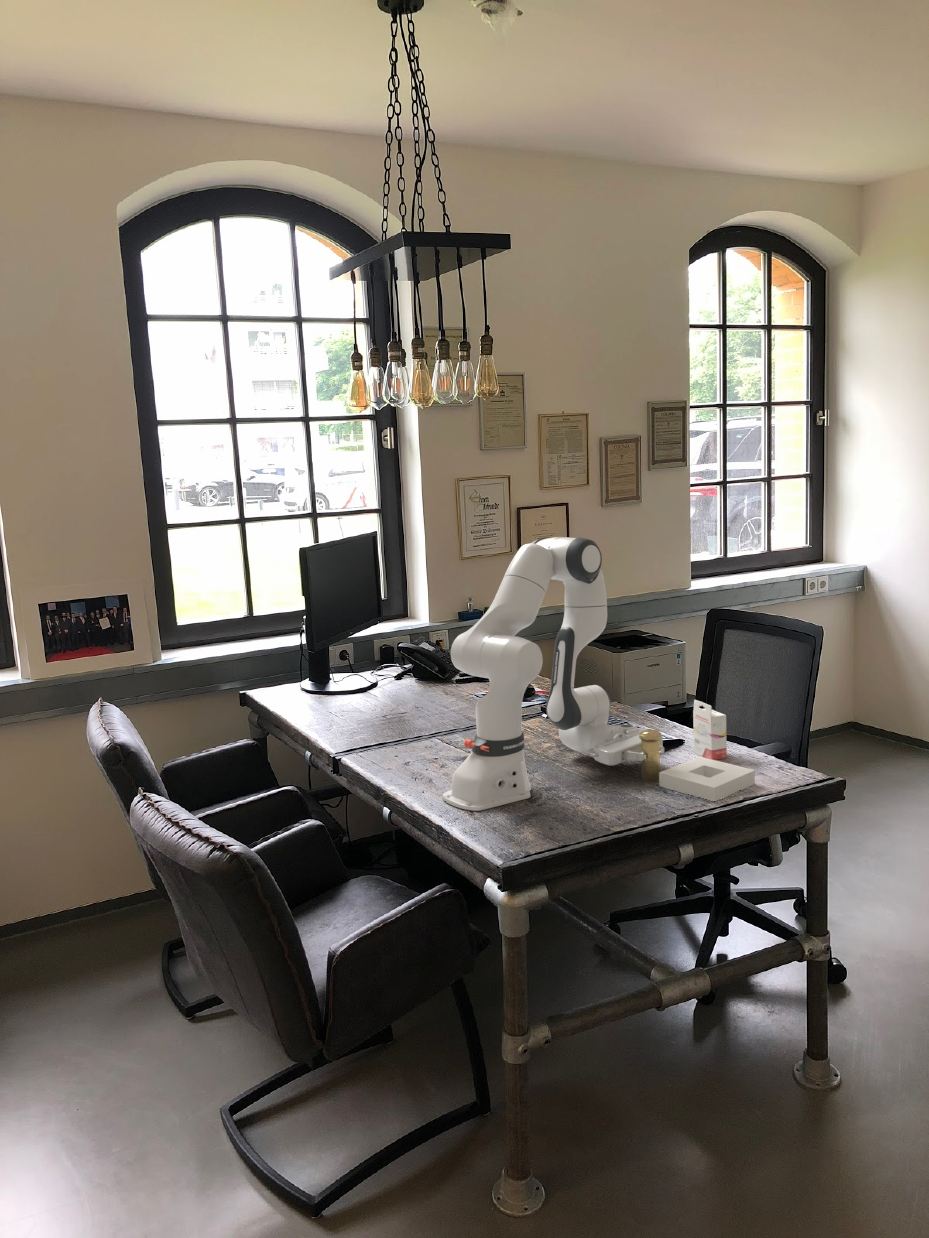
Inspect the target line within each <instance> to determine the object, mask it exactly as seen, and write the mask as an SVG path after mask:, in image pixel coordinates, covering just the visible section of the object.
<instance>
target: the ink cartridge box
mask: <svg viewBox="0 0 929 1238" xmlns="http://www.w3.org/2000/svg"><path fill="white" fill-rule="evenodd" d="M700 707H703V708H700ZM692 714H693V715H692V718H693V721H692V722H693V725H692V726H693V753H694V754H697V755H699V757H704V758H708V759H712V760H716V761H719V760H722V759H727V756H728V755H727V752H728V751H727V715H726V714H724V713H721V712H720V711H719V712H718V711H716V710H714V709H713V706H712V705H710V704H707V703H705V702H703V701H700V700H697V699H694V700H693V711H692Z"/></svg>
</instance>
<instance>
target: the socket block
mask: <svg viewBox="0 0 929 1238" xmlns="http://www.w3.org/2000/svg"><path fill="white" fill-rule="evenodd" d="M755 771H756V770H755V769H752V768H747V767H743V766H739V765H736V764H735V765H734V764H731V763H727V762H722V761H720V760H712V759H708V758H705V757H703V756H697V757H695V758H692V759H690V760H688V761H685V762H682V763H680V764H678V765H675V766H672V767H670V768H667V769H664V770H662V771H660V772H659V780H658V782H659V783H658V784H659V787H660V788H664V789H666V790H667V789H668V790H672V791H674V790H675V792H677V793H678V792H679V793H682V794H685V795H688V794H689V796H691V795H693V796H692V797H696V798H698V797H702V798H704V799H703V800H705V799H707V800H706V801H709V800H710V801H709V802H712V801H716V802H718V801H720V800H719V799H721V798H723V797H725V798H727V797H729V796H731V795H730V794H732V795H734V794H736V793H738V792H740V791H739V790H741V791H742V790H745V789H748V788H750V787H751V786H754V785H755V784H756V776H755V775H756V772H755ZM737 791H738V792H737ZM735 792H736V793H735ZM733 793H734V794H733ZM728 795H729V796H728ZM702 798H701V799H702ZM723 799H724V798H723ZM717 800H718V801H717ZM721 800H722V799H721Z"/></svg>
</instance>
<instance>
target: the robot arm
mask: <svg viewBox="0 0 929 1238" xmlns="http://www.w3.org/2000/svg"><path fill="white" fill-rule="evenodd" d="M602 562H603V558H602V552H601V550H600V548H599V546H598V543H596V542H595V541H594V540H593V539H590V538H586V537H565V536H557V537H556V536H555V537H548V538H547V537H546V538H545V537H544V538H543V537H542V538H539V539H536V540H533V541H532V542H531V543H526V544H525V543H524V544H523V545H521V546H520V548H519V549H518V550H517V552H516V553H515V555H514V557H513V558H512V560H511V562H510V563H509V565H508V567H507V569H506V571H505V574H504V575H503V578H502V580H501V583H500V584H499V587H498V589H497V592H496V594H495V597H494V598H493V601H492V603H491V604H490V606H489V607H488V609H487V611H485V613H484V614H483V615H482V616H481V618H480V619H479V620H478V621H477V622H476V623H475V624H474V625H473V626H472V627H470V628H469V629H468V630H466V631H465V632H462V633H460V634H458V635H457V637H456V638H455V639H454V640H453V643H452V644H451V648H450V658H451V659H450V660H451V662H452V665H453V666H454V667H455V668H456V670H459V671H461V672H463V673H465V674H467V675H469V676H472V677H479V678H484V679H488V680H489V688H488V691H487V694H485V695H483V696H482V697H481V698H479V700H477V703H476V704H475V724H476V725H475V726H476V734H475V736H474V740H471V739H468V738H466V739H464V741H463V746H464V747H465V748H468V749H471V752H470V754H469V755H468V756H467V757H466V758H465V760H464V761H463V762H462V763H461V764H460V765H459V767H458V768H457V769H456V770H454V772H453V775H452V778H451V789H450V790H447V791H446V792H444V793H442V797H443V798H442V800H443V801H444V802H445V801H446V802H445V803H447V804H449V805H452V806H453V807H456V808H459V809H463V810H467V811H475V812H476V811H477V812H479V811H484V810H488V809H492V808H496V807H499V806H503V805H508V804H511V803H515V802H519V801H522V800H527V799H529V798H531V790H532V785H531V783H530V779H529V776H528V773H527V766H526V761H525V753H524V749H525V747H526V745H525V742H526V741H525V733H524V732H523V726H522V725H523V723H522V721H523V719H522V717H523V715H522V706H523V700H524V694H525V693H526V690H527V687H528V686H530V685H529V684H531V682H533V681H534V680H535V679H536V678H537V677H538V676H539V674H540V673H541V671H542V668H543V663H544V657H543V654H542V649H541V648H540V647H539V645H538V644H537V643H536V642H533V641H531V640H528V639H526V638H524V637H521V636H516V635H517V634H518V633H519V632H520V631H523V629H526V628H528V627H529V626H531V625H532V624H533V623H534V622H535V621H536V619H537V616H538V613H539V611H540V608H541V606H542V603H543V601H544V597H545V595H546V593H547V590H548V588H549V584H550V580H553V581H560V582H562V584H563V586H564V598H563V599H564V601H563V602H564V606H563V607H564V614H563V621H562V624H561V626H560V627H561V628H560V629H559V631H558V632H557V633H556V637H555V642H554V649H553V657H552V660H553V661H552V669H551V678H550V679H551V680H550V688H549V692H548V693H549V694H548V697H547V700H546V705H545V706H546V707H545V711H546V715H547V716H546V717H547V718H548V720H549V721H550V723H552V725H553V726H554V727H556V728H557V729H558V736H559V737H558V738H559V739H560V741H561V742H562V743H563V745H565V747H567V748H569V749H571V750H574V751H575V752H579V753H581V754H585V755H587V756H590V757H593V758H594V760H595V761H596V762H598V763H601V764H603V765H606V766H616V765H619V764H622V763H624V762H625V763H626V762H627V761H639V762H642V761H643V760H646V754H645V753H643V752H642V747H641V739H639V733H640V732H641V731H643V730H648V729H647V728H642V727H639V728H638V726H637V725H636V724H633V723H632V724H622V725H617V724H616V725H615V724H614V725H611V724H609V722H610V721H609V720H610V717H611V716H610V715H611V714H610V713H611V704H612V703H611V699H610V698H611V697H610V695H609V693H608V692H607V691H606V690H605V689H604V688H603V687H602V686H600V685H598V684H592V685H586V686H581V687H577V688H576V687H575V677H576V665H577V658H578V656H579V654H580V652H582V650H583V649H584V648H585V647H586V646H587V645H589V643H591V642H593V641H594V640H596V639H597V638H598V637H599V636H601V634H602V633H603V632H604V630H605V629H606V628H607V622H608V597H607V589H606V583H605V578H604V573H603V571H602V569H601V567H602ZM663 738H664V737H663V735H662V734H661V739H660V740H659V742H660V755H661V754H664V753H665V746H663V743H664V740H663Z"/></svg>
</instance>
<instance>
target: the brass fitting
mask: <svg viewBox="0 0 929 1238" xmlns="http://www.w3.org/2000/svg"><path fill="white" fill-rule="evenodd" d="M661 735H662V732H660V731H659V730H657V729H652V728H651V729H647V730H643V731H641V732H640V733H639V739H641V747H642V752H643V753H645V754H646V760H643V761H641V774H642V775H641V778H642V780H643V781H645V782H650V783H651V782H659V772H661V756H660V755H661V754H660V742H659V740H660V739H661Z"/></svg>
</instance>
